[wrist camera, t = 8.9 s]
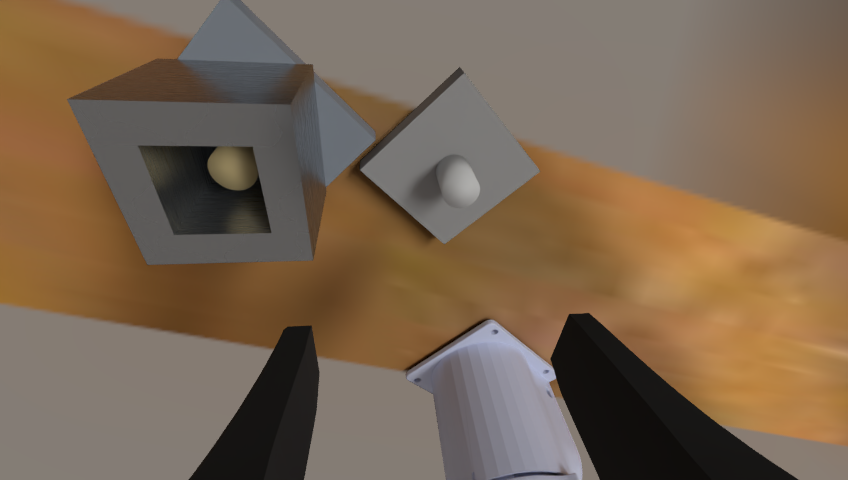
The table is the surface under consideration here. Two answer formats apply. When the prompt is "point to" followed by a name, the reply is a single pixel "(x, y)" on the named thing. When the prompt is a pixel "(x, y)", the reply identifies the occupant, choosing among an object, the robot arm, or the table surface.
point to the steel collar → (191, 148)
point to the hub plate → (254, 42)
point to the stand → (449, 159)
